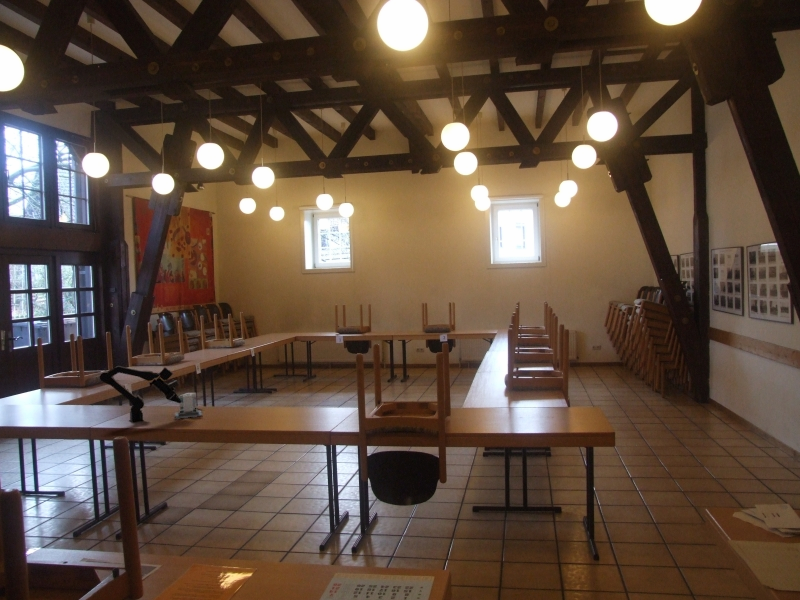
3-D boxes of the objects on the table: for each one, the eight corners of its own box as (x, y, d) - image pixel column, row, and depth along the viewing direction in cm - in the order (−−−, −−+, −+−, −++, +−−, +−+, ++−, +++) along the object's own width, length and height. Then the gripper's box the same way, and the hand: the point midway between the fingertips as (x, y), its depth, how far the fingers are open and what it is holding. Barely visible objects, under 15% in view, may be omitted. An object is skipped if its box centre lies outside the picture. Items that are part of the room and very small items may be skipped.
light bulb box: (188, 411, 391) (188, 395, 391) (179, 411, 393) (179, 395, 393) (197, 408, 402) (196, 392, 402) (188, 407, 403) (187, 392, 403)
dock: (175, 419, 367) (175, 415, 367) (174, 414, 382) (174, 410, 381) (202, 416, 373) (201, 412, 373) (200, 412, 388) (200, 407, 388)
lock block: (183, 414, 374) (183, 396, 373) (183, 413, 379) (183, 395, 378) (192, 414, 376) (192, 395, 375) (192, 412, 381) (191, 394, 381)
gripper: (171, 378, 364) (190, 394, 369) (170, 374, 382) (188, 389, 386) (157, 391, 362) (177, 407, 366) (158, 387, 379) (176, 402, 383)
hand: (180, 401), depth 375 cm, fingers open, 9 cm apart
